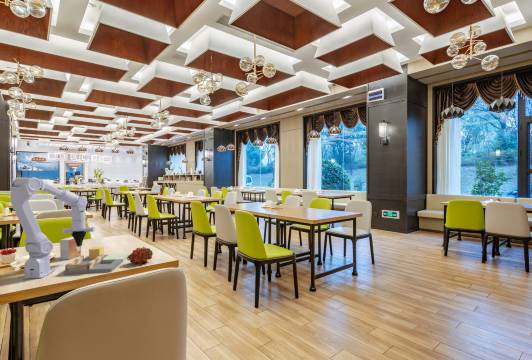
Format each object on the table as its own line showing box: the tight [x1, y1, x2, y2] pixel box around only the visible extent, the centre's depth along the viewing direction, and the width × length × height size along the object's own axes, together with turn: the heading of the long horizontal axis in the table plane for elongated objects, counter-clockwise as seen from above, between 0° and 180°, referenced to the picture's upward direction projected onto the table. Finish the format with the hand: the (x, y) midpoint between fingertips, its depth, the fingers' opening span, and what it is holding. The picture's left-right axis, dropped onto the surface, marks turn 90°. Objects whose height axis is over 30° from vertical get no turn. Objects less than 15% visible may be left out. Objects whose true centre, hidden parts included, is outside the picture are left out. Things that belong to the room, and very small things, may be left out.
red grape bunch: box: [126, 246, 154, 265], centre depth 147 cm, size 8×8×12 cm
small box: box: [59, 236, 82, 260], centre depth 158 cm, size 8×6×10 cm
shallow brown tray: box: [64, 255, 103, 271], centre depth 140 cm, size 15×10×2 cm, turn 7°
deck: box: [63, 253, 130, 275], centre depth 145 cm, size 24×20×2 cm
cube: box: [88, 246, 105, 259], centre depth 152 cm, size 5×5×5 cm
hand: (79, 246), depth 150 cm, fingers closed
